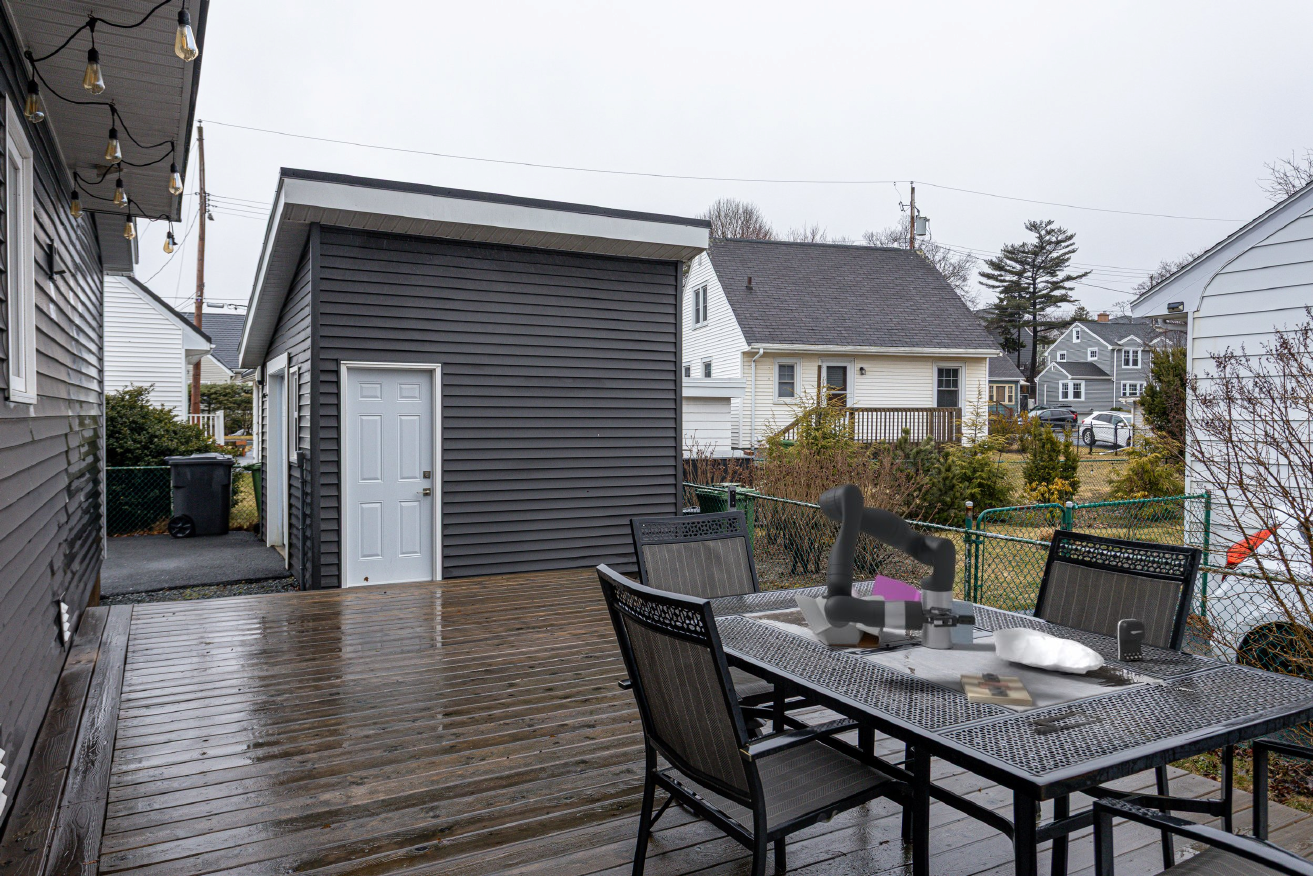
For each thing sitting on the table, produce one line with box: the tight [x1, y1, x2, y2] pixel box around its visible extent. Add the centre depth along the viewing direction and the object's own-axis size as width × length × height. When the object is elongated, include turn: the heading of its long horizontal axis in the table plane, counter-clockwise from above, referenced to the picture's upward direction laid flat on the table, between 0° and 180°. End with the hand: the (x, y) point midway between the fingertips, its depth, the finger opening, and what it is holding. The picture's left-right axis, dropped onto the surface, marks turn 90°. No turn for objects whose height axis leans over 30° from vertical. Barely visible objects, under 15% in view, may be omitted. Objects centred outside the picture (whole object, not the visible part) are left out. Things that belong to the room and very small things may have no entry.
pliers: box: [1134, 675, 1195, 692], centre depth 203 cm, size 10×2×15 cm
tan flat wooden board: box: [960, 672, 1033, 707], centre depth 201 cm, size 18×14×2 cm
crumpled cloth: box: [992, 627, 1105, 675], centre depth 224 cm, size 24×35×9 cm
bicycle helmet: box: [794, 593, 885, 648], centre depth 253 cm, size 28×26×16 cm
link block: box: [951, 600, 974, 645], centre depth 205 cm, size 4×5×10 cm
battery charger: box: [1116, 618, 1146, 662], centre depth 229 cm, size 7×4×11 cm, turn 101°
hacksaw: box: [1021, 704, 1106, 736], centre depth 182 cm, size 24×10×2 cm, turn 115°
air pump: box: [852, 574, 921, 601], centre depth 293 cm, size 32×38×10 cm
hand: (973, 618), depth 204 cm, fingers closed on link block, 3 cm apart
